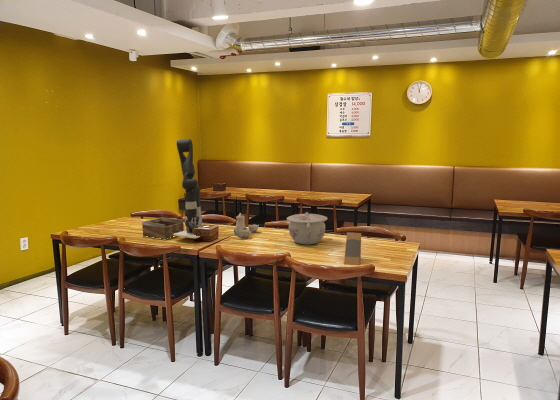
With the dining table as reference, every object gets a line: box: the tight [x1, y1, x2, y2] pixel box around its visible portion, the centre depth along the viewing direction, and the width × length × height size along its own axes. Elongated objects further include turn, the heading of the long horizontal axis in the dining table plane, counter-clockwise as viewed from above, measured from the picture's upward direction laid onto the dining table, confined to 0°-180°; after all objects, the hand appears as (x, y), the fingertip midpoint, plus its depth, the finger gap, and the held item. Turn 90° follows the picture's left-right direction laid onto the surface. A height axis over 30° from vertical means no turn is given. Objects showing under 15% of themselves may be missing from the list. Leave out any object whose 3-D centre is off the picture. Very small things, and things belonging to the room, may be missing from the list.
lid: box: [173, 225, 201, 239], centre depth 286 cm, size 17×20×6 cm
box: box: [141, 216, 185, 240], centre depth 300 cm, size 19×22×11 cm
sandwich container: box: [343, 231, 362, 266], centre depth 233 cm, size 9×15×15 cm, turn 165°
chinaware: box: [233, 212, 260, 239], centre depth 299 cm, size 28×17×17 cm, turn 167°
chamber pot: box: [286, 211, 328, 246], centre depth 275 cm, size 28×28×21 cm
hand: (192, 232), depth 286 cm, fingers closed on lid, 3 cm apart
